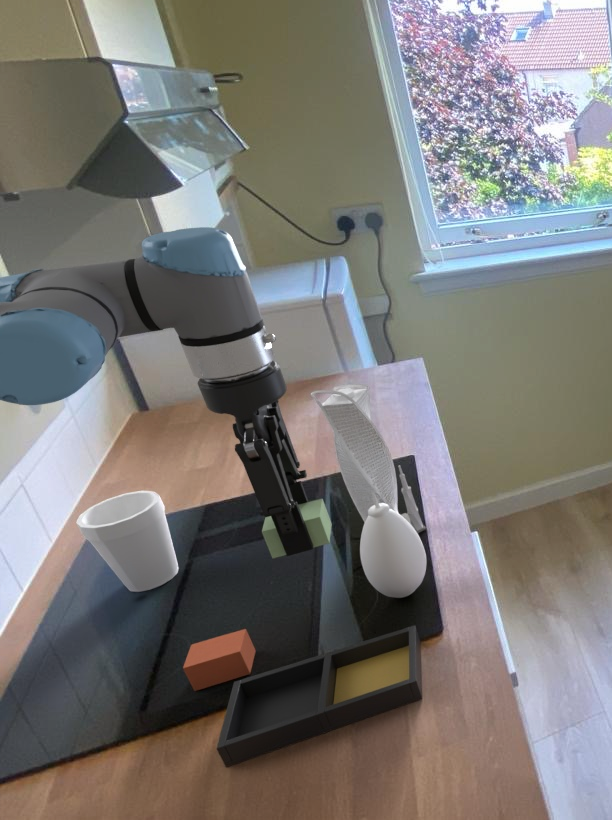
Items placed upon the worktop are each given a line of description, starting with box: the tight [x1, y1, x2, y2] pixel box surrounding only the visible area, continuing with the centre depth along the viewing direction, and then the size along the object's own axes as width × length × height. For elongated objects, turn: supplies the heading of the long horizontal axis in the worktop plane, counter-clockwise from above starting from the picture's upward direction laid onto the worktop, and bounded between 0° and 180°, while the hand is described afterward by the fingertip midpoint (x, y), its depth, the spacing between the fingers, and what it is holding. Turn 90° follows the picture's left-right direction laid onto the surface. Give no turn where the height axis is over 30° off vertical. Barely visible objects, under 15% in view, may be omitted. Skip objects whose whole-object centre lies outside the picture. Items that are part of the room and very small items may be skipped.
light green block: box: [261, 498, 333, 559], centre depth 90 cm, size 6×4×4 cm
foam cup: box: [75, 490, 180, 593], centre depth 111 cm, size 10×9×13 cm
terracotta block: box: [182, 628, 256, 692], centre depth 96 cm, size 6×4×4 cm
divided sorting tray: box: [215, 625, 423, 768], centre depth 91 cm, size 20×11×3 cm, turn 116°
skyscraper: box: [309, 384, 427, 535], centre depth 117 cm, size 8×8×28 cm
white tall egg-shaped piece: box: [359, 492, 427, 599], centre depth 105 cm, size 8×8×18 cm
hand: (302, 539), depth 91 cm, fingers closed on light green block, 4 cm apart
